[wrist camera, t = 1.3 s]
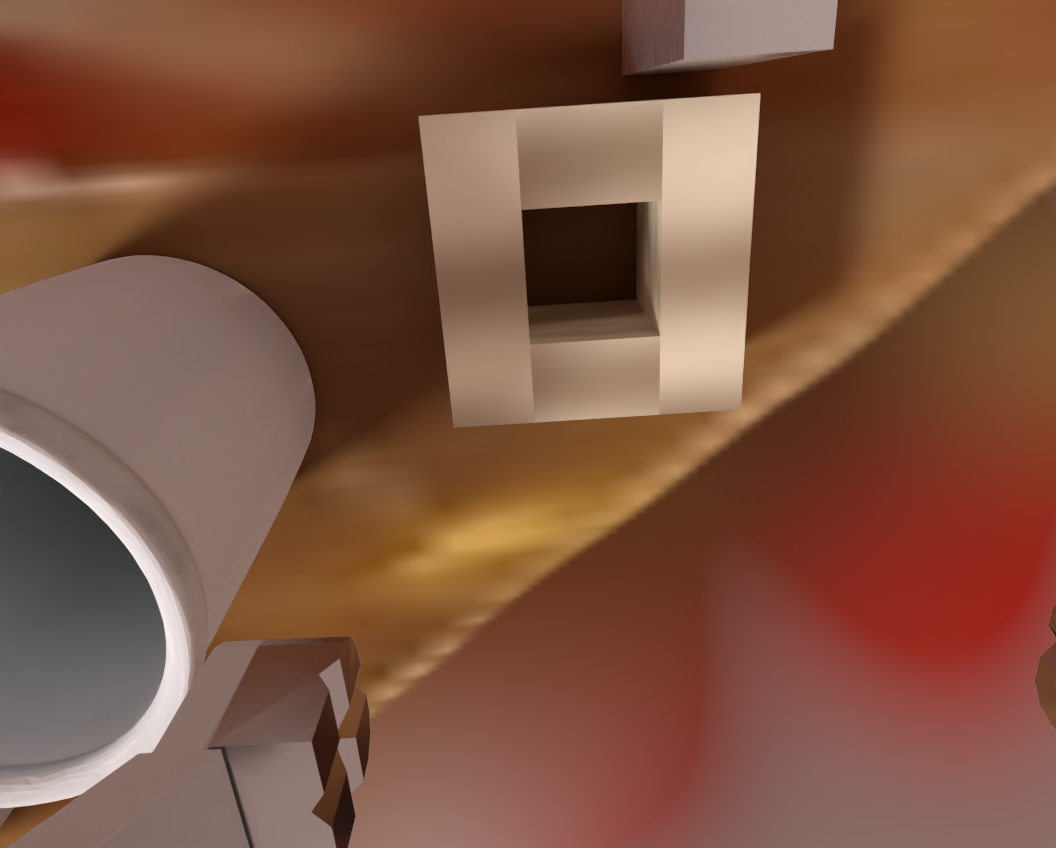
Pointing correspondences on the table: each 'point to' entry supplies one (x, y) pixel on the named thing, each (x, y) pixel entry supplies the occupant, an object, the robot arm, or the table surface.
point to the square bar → (721, 33)
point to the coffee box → (4, 814)
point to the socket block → (662, 257)
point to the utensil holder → (129, 501)
